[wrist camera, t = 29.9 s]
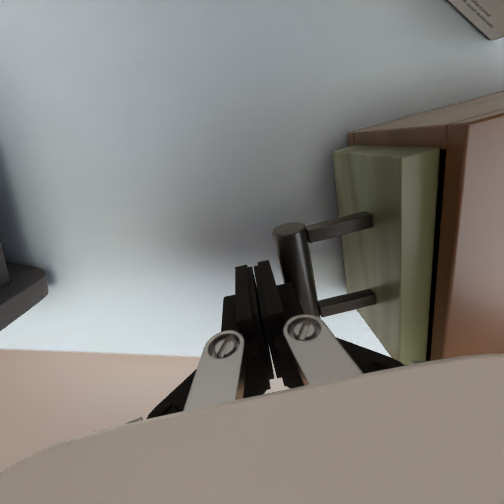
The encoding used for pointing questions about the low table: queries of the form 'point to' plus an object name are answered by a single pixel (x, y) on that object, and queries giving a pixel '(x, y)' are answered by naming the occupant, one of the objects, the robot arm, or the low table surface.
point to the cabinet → (462, 220)
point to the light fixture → (19, 290)
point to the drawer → (376, 244)
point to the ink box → (484, 15)
